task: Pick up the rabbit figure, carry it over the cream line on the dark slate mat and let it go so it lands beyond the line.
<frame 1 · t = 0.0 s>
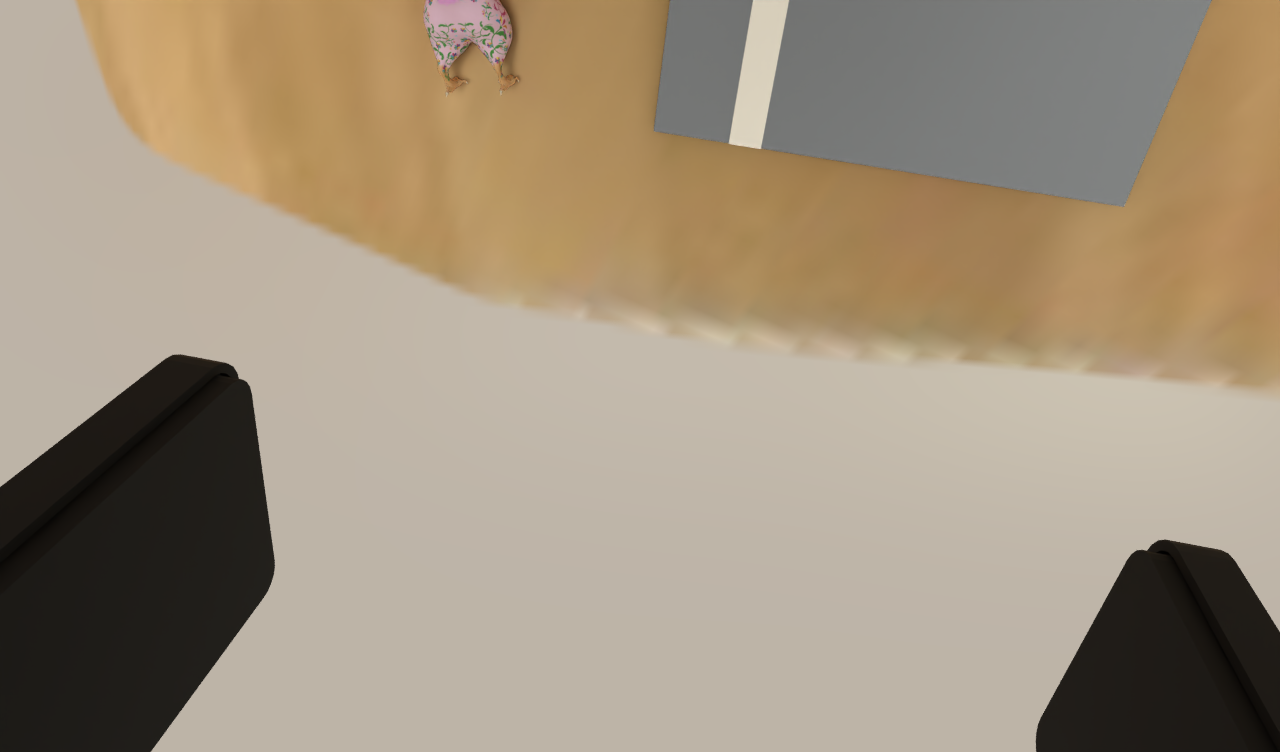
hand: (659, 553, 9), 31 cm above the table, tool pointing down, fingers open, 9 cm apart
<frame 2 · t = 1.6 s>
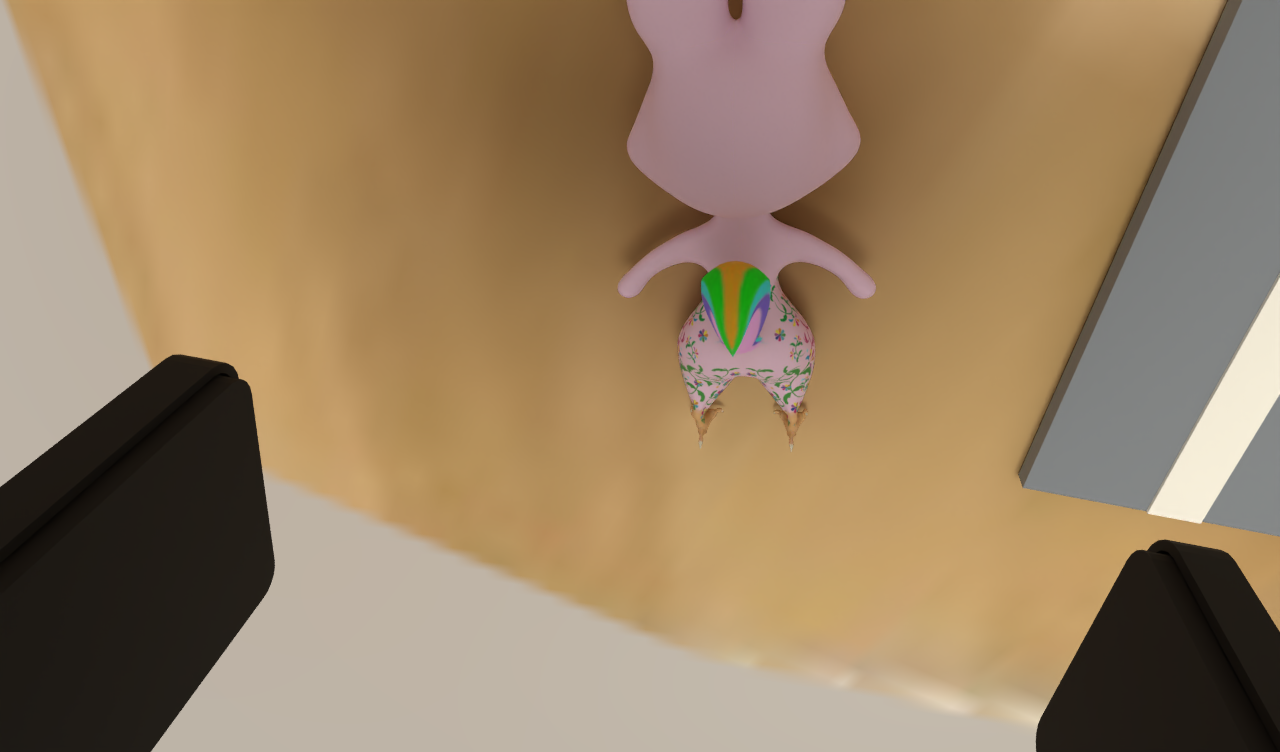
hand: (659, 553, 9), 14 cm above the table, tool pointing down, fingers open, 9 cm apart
rabbit figure: (746, 152, 21), on the table
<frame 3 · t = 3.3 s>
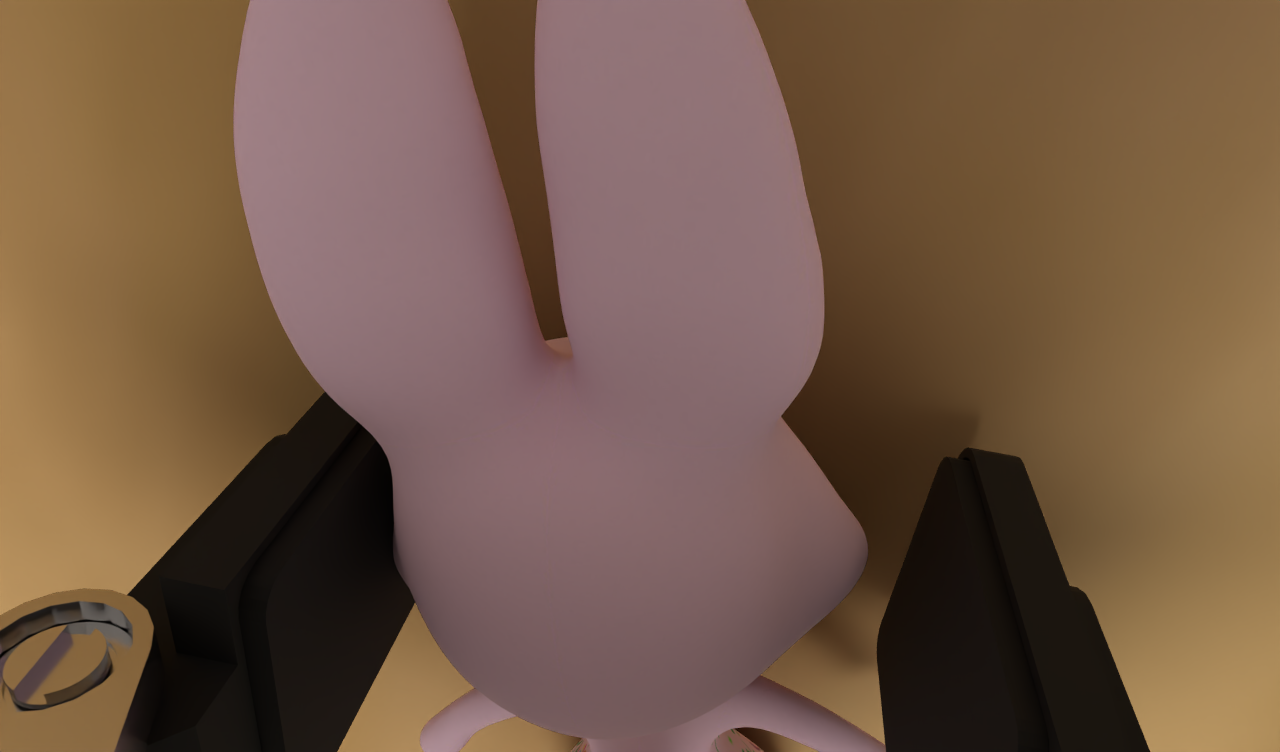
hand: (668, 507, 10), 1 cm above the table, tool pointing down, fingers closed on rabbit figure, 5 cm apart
rabbit figure: (652, 490, 11), on the table, touching gripper
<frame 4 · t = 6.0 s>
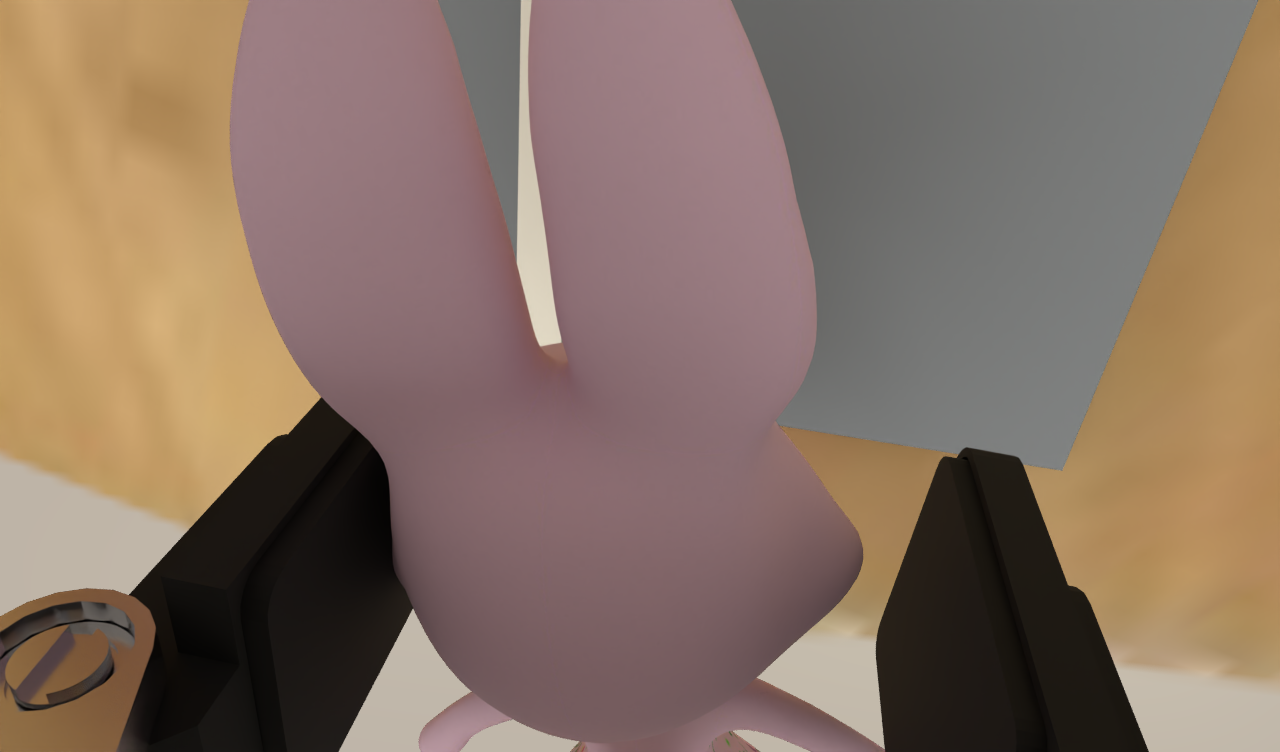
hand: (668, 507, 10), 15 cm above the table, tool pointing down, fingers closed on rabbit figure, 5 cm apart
rabbit figure: (649, 493, 11), point 14 cm above the table, touching gripper
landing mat: (770, 155, 23), on the table
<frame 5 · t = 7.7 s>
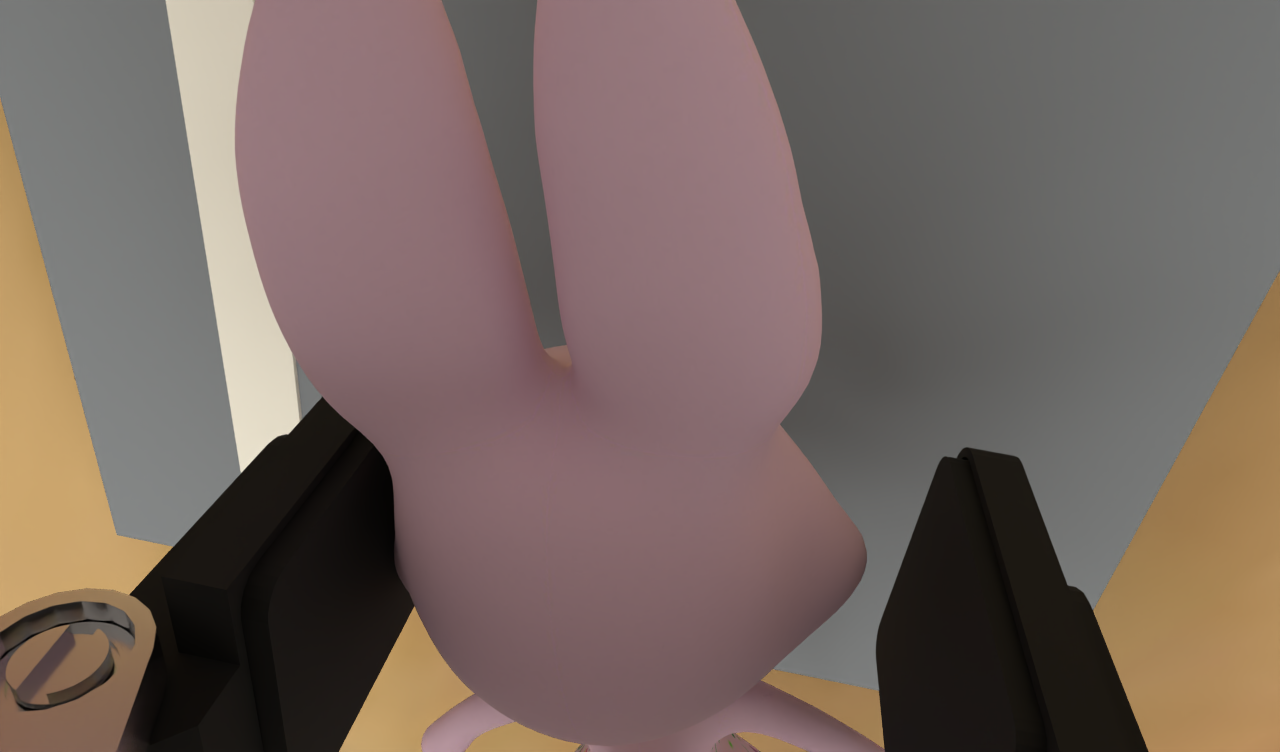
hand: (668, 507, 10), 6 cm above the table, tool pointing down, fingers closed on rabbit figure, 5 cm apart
rabbit figure: (652, 495, 11), point 5 cm above the table, touching gripper
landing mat: (594, 273, 15), on the table
when the fingers open (3 cm above the table, at t = 9.0 s): rabbit figure drops 1 cm, resting on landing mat.
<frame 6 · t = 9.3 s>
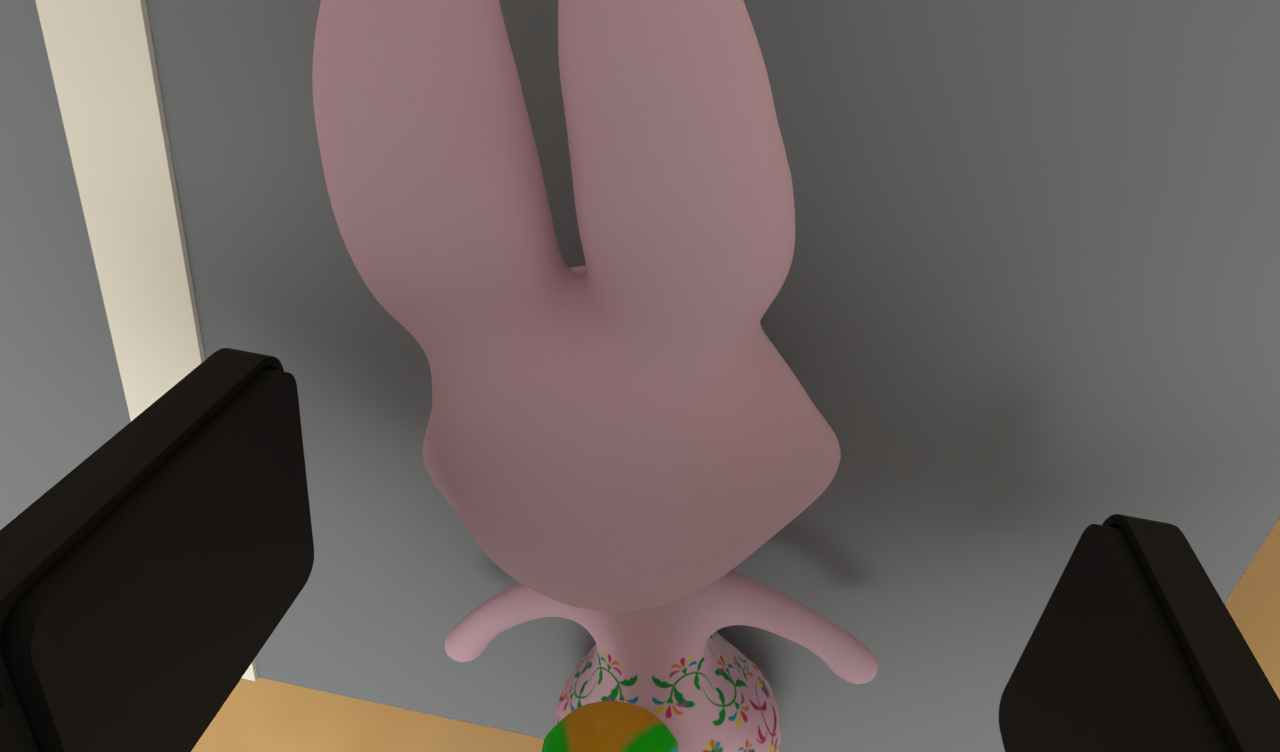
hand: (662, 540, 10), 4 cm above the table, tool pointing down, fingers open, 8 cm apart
rabbit figure: (652, 419, 13), resting on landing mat
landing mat: (560, 353, 13), on the table
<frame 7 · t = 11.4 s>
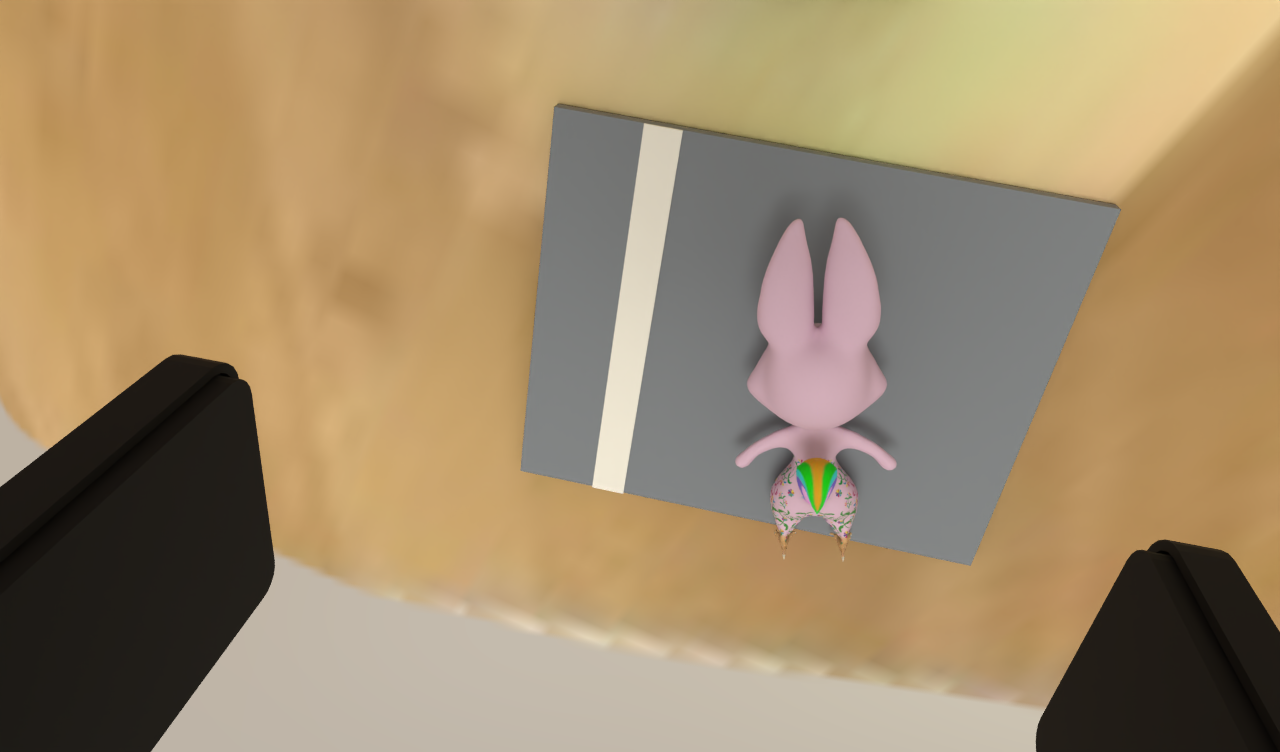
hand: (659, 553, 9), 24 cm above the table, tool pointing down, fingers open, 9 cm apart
rabbit figure: (814, 378, 35), resting on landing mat
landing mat: (781, 350, 35), on the table
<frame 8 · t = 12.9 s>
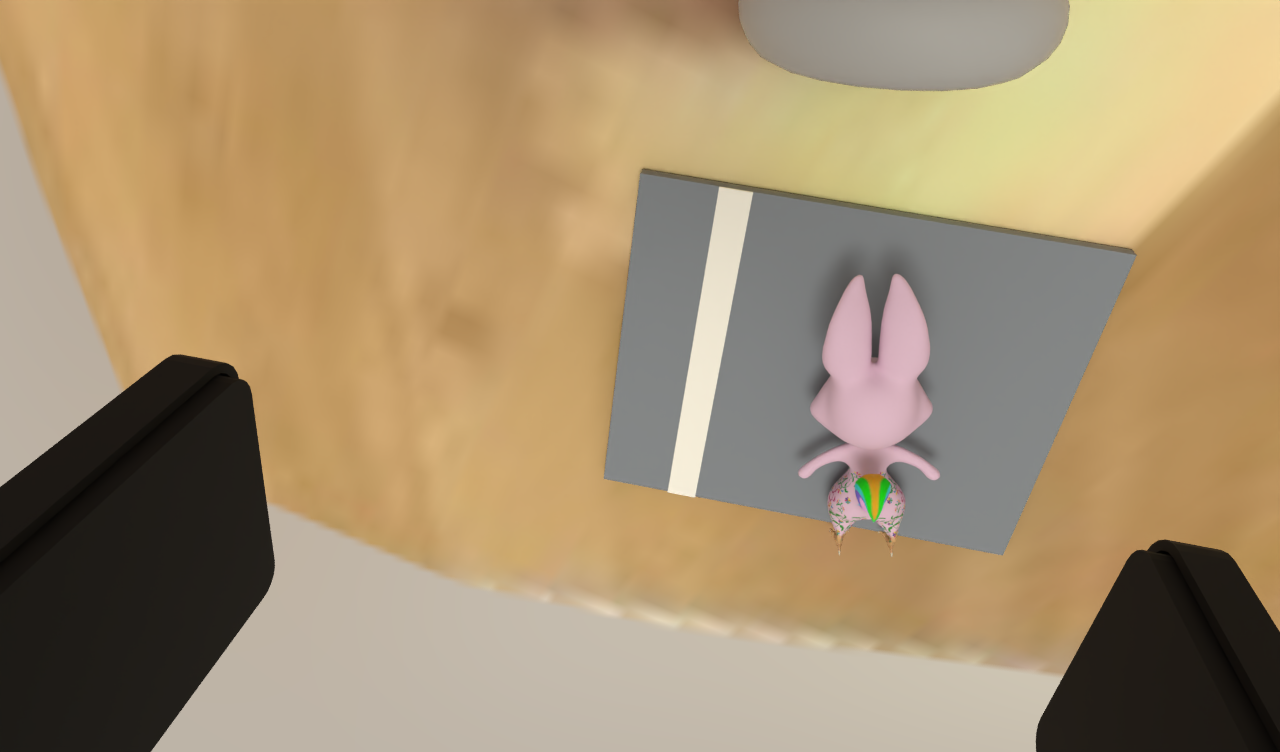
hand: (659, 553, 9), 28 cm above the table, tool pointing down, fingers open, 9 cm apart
rabbit figure: (867, 400, 40), resting on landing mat
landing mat: (836, 374, 40), on the table
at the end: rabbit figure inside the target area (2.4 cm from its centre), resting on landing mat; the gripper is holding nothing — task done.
